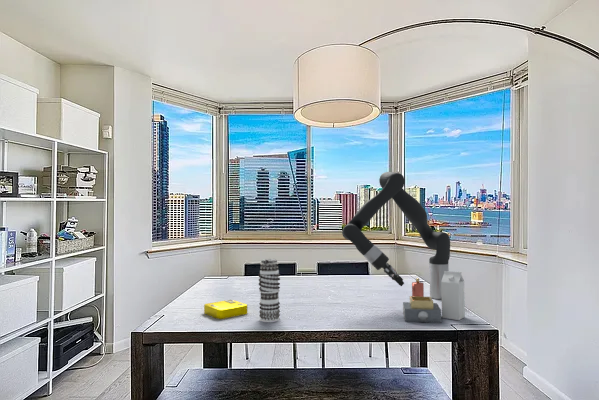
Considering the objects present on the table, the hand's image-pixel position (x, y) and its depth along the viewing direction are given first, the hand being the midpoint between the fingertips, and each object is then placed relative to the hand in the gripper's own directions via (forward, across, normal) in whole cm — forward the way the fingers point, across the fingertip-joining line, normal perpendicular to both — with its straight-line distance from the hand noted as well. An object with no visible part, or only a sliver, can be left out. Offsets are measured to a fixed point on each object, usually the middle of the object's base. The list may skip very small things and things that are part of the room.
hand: (402, 283), depth 185 cm
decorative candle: (-31, -25, +48) cm, 62 cm away
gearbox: (+13, -14, +4) cm, 20 cm away
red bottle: (+13, 0, +4) cm, 14 cm away
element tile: (-46, -18, +63) cm, 80 cm away
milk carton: (+22, -11, -6) cm, 26 cm away
